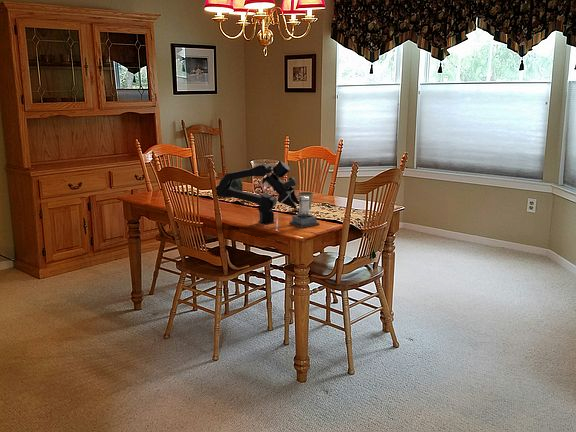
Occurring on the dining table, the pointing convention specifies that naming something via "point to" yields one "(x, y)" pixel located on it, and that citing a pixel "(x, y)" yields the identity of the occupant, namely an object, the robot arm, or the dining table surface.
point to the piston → (304, 207)
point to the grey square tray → (304, 221)
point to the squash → (235, 184)
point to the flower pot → (306, 195)
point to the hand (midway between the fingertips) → (297, 205)
